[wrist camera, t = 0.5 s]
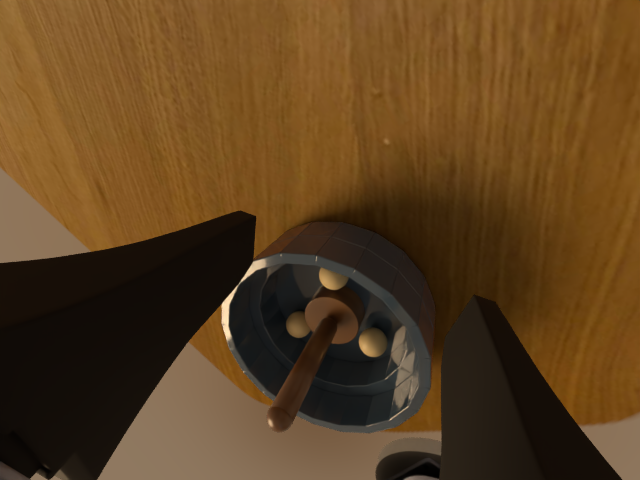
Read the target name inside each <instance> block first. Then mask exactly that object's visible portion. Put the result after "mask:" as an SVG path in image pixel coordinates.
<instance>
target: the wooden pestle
mask: <svg viewBox="0 0 640 480" xmlns="http://www.w3.org/2000/svg"><path fill="white" fill-rule="evenodd" d="M364 314H365V309H364V305H363V302H362V300H361V299H360V297H359V296H358V295H357V294H356V293H355V292H354V291H353V290H351V289H350V288H348V287H346V286H343V287H342V288H340V289H337V290H331V289H328V288H326V287H325V286H322V287H320V288H319V289H318V290H317V291H316V293H315V294H314V296H313V297H312V299H311V300H310V302H309V303H308V305H307V306H306V309H305V319H306V322H307V325H308V326H309V328H310V329H311V331H312V332H313V334H312V336H311V337H310V339H309V341H308V343H307V344H306V346H305V348H304V349H303V351H302V353H301V355H300V356H299V358H298V360H297V362H296V363H295V365H294V367H293V368H292V370H291V372H290V374H289V375H288V377H287V379H286V381H285V382H284V384H283V386H282V388H281V389H280V391H279V393H278V394H277V396H276V398H275V400H274V401H273V403H272V405H271V407H270V408H269V410H268V413H267V423H268V425H269V427H270V428H271V429H272V430H273V431H275V432H284V431H286V430H288V429H289V428H290V426H291V424H292V423H293V421H294V419H295V417H296V415H297V413H298V411H299V409H300V406H301V404H302V402H303V400H304V398H305V396H306V394H307V392H308V390H309V388H310V386H311V384H312V382H313V380H314V377H315V375H316V373H317V371H318V369H319V367H320V365H321V363H322V361H323V359H324V357H325V355H326V353H327V351H328V348H329V346H330V344H331V343H333V344H344V343H348V342H350V341H351V340H353V339H354V338H355V337H356V335H357V333H358V331H359V328H360V326H361V323H362V321H363V318H364Z"/></svg>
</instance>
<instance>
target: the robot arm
mask: <svg viewBox="0 0 640 480" xmlns="http://www.w3.org/2000/svg"><path fill="white" fill-rule="evenodd" d="M255 226H256V216H254V215H251V214H248V213H246V212H243V211H237V212H233V213H230V214H227V215H224V216H221V217H218V218H215V219H212V220H209V221H206V222H203V223H200V224H197V225H194V226H191V227H188V228H185V229H182V230H179V231H176V232H172V233H169V234H165V235H162V236H159V237H155V238H152V239H148V240H145V241H141V242H137V243H133V244H129V245H124V246H119V247H115V248H110V249H105V250H100V251H94V252H87V253H81V254H75V255H68V256H62V257H56V258H48V259H39V260H30V261H19V262H8V263H0V480H30V478H31V477H32V476H33V475H34V474H35V473H38V474H39V475H41V476H43V477H44V478H46V479H48V480H49V479H51V478H52V477H53V476H54V475H55V476H56V477H58V478H60V479H62V480H97V479H98V477H99V476H100V474H101V472H102V470H103V469H104V467H105V465H106V464H107V462H108V461H109V459H110V457H111V456H112V454H113V452H114V451H115V449H116V448H117V446H118V444H119V443H120V441H121V439H122V438H123V436H124V434H125V433H126V431H127V430H128V428H129V427H130V425H131V424H132V422H133V421H134V419H135V417H136V416H137V414H138V413H139V411H140V410H141V408H142V407H143V405H144V404H145V402H146V401H147V399H148V398H149V396H150V395H151V393H152V392H153V390H154V389H155V387H156V386H157V384H158V383H159V382H160V380H161V379H162V377H163V376H164V374H165V373H166V371H167V370H168V368H169V367H170V366H171V364H172V363H173V361H174V360H175V359H176V357H177V356H178V355H179V353H180V352H181V351H182V349H183V348H184V347H185V345H186V344H187V343H188V341H189V340H190V339H191V338H192V337H193V335H194V334H195V333H196V332H197V331H198V330H199V328H200V327H201V326H202V325H203V324H204V323H205V322H206V321H207V320H208V318H209V317H210V316H211V315H212V314H213V313H214V312H215V311H216V309H217V308H218V307H219V306H220V305H221V304H222V303H223V302H224V300H225V299H226V298H227V297H228V296H229V295H230V294H231V292H232V291H233V290H234V289H235V288H236V287H237V286H238V284H239V283H240V281H241V280H242V278H243V277H244V276H245V274H246V272H247V271H248V269H249V268H250V266H251V265H252V263H253V255H254V241H255ZM441 424H442V449H441V465H440V464H438V463H437V462H436V461H434V460H433V459H431V458H425V459H423V460H421V461H419V462H417V463H416V464H414V465H412V466H410V467H409V468H407V469H405V470H403V471H401V472H400V473H398V474H396V475H394V476H392V477H391V478H389V479H387V480H622V479H621V478H620V476H619V475H618V474H617V473H616V472H615V470H614V469H613V468H612V467H611V466H610V465H609V463H608V462H607V461H606V460H605V459H604V457H603V456H602V455H601V454H600V452H599V451H598V450H597V449H596V447H595V446H594V445H593V444H592V442H591V441H590V440H589V439H588V438H587V436H586V435H585V434H584V432H583V431H582V430H581V429H580V427H579V426H578V425H577V423H576V422H575V421H574V419H573V418H572V417H571V416H570V414H569V413H568V411H567V410H566V409H565V407H564V406H563V404H562V403H561V402H560V400H559V399H558V397H557V396H556V395H555V393H554V392H553V391H552V389H551V388H550V386H549V385H548V383H547V382H546V380H545V379H544V377H543V376H542V375H541V373H540V372H539V370H538V369H537V367H536V365H535V364H534V362H533V361H532V359H531V358H530V356H529V355H528V353H527V352H526V350H525V348H524V347H523V345H522V344H521V342H520V340H519V339H518V337H517V336H516V334H515V332H514V331H513V329H512V327H511V326H510V324H509V323H508V321H507V319H506V318H505V316H504V315H503V313H502V311H501V310H500V308H499V307H498V305H497V304H496V302H494V301H491V300H488V299H485V298H483V297H480V296H477V295H473V297H472V298H471V300H470V301H469V303H468V304H467V306H466V307H465V308H464V310H463V311H462V313H461V314H460V316H459V317H458V319H457V320H456V322H455V323H454V325H453V326H452V328H451V329H450V331H449V332H448V334H447V335H446V337H445V342H444V349H443V356H442V365H441Z"/></svg>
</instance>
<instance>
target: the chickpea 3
mask: <svg viewBox="0 0 640 480" xmlns="http://www.w3.org/2000/svg"><path fill="white" fill-rule="evenodd" d="M359 346H360V348H361V350H362V351H363V353H364V354H366V355H367V356H370V357H378V356H380V355H382V354H383V353H384V352H385V350H386V348H387V338H386V336H385V334H384V333H383V332H382V331H381V330H380V329H378V328H374V327H371V328H367V329H365V330H364V331H363V332H362V333H361V335H360V337H359Z"/></svg>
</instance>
